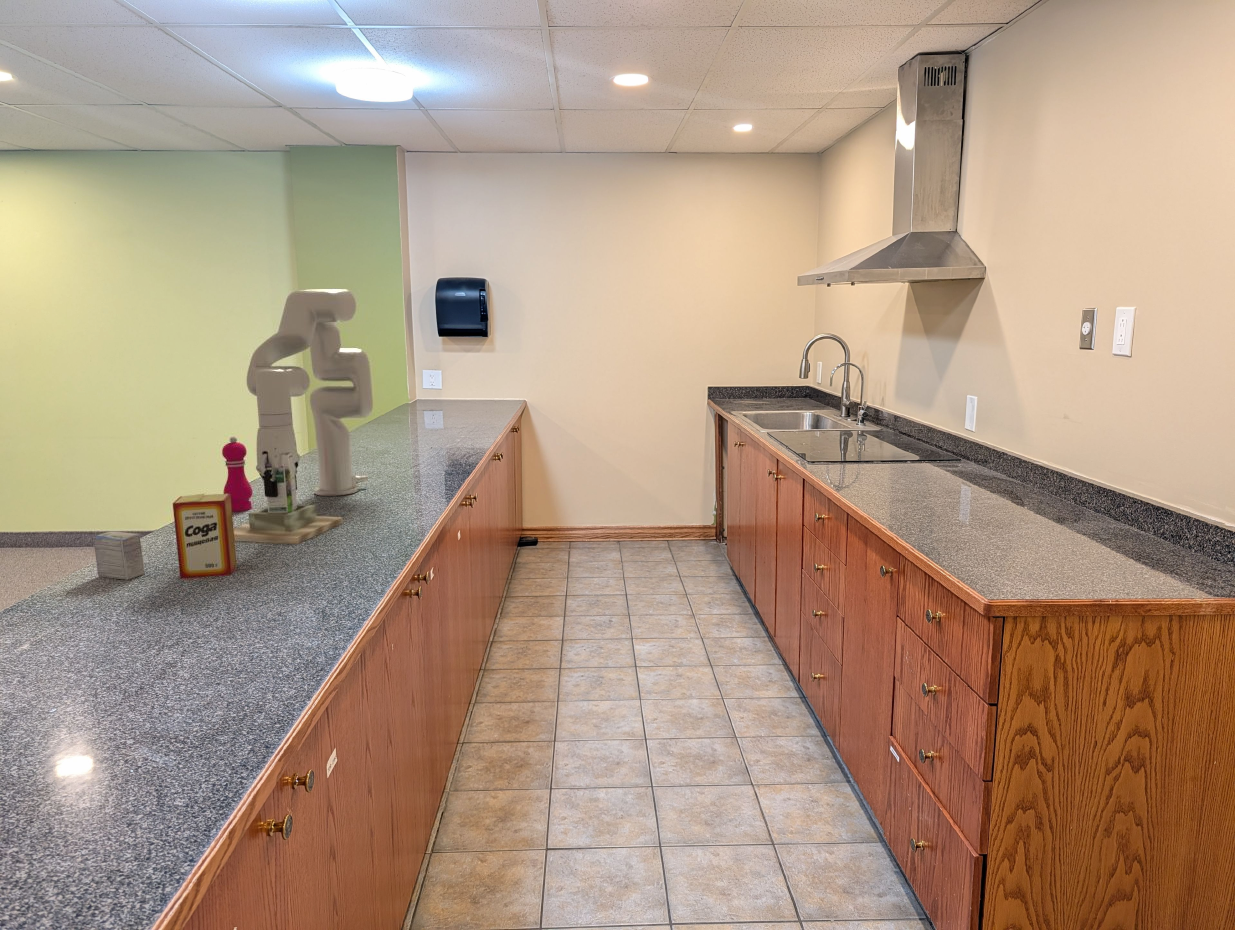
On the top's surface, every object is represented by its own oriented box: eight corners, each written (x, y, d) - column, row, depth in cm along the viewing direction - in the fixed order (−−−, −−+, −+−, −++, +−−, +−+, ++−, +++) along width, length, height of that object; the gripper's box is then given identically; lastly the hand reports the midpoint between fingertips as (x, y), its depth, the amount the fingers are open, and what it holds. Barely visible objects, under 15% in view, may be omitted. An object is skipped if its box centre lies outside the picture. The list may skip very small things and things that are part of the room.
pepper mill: (258, 506, 231) (252, 434, 228) (244, 512, 224) (238, 438, 221) (234, 505, 232) (227, 434, 228) (219, 511, 225) (212, 438, 221)
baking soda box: (236, 565, 177) (230, 491, 174) (231, 574, 171) (224, 498, 168) (187, 569, 175) (180, 494, 172) (180, 578, 168) (172, 501, 165)
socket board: (273, 519, 216) (271, 498, 215) (342, 523, 212) (341, 501, 211) (221, 539, 197) (219, 516, 196) (297, 544, 193) (295, 521, 192)
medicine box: (145, 574, 171) (141, 533, 170) (126, 581, 167) (121, 539, 166) (116, 570, 174) (111, 530, 172) (97, 577, 170) (92, 535, 168)
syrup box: (267, 514, 201) (262, 455, 198) (274, 509, 206) (269, 451, 204) (292, 513, 201) (287, 454, 199) (298, 508, 207) (293, 450, 205)
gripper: (283, 416, 209) (288, 485, 212) (238, 425, 192) (244, 500, 195) (310, 416, 207) (315, 486, 211) (267, 425, 191) (273, 501, 194)
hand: (281, 492), depth 203 cm, fingers closed on syrup box, 7 cm apart
